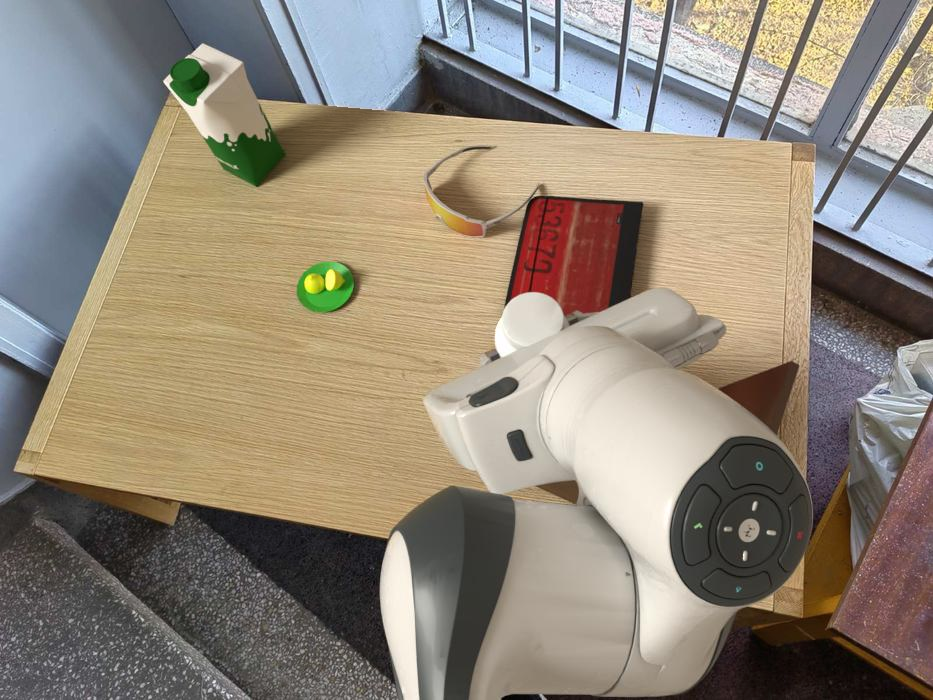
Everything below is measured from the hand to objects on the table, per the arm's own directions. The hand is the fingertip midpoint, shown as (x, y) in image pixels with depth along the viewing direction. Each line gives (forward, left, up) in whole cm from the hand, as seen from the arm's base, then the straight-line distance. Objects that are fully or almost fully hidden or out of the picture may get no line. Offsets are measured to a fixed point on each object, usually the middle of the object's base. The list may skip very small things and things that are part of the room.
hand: (529, 341), depth 56 cm
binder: (+25, +5, -29) cm, 39 cm away
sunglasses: (+31, +22, -29) cm, 48 cm away
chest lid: (+1, -17, -8) cm, 19 cm away
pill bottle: (0, 0, -6) cm, 6 cm away
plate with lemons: (+9, +35, -29) cm, 46 cm away
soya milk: (+24, +57, -29) cm, 68 cm away
